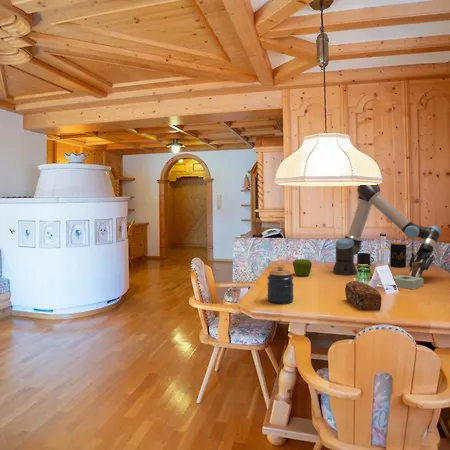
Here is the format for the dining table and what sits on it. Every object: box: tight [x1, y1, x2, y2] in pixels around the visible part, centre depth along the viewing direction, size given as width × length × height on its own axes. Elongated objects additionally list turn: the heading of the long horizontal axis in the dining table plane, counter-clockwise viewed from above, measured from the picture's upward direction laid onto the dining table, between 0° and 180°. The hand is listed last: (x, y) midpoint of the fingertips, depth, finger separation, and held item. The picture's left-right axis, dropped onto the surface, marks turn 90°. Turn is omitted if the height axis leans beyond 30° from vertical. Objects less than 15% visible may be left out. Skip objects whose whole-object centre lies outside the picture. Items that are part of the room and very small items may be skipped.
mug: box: [356, 252, 375, 266], centre depth 273 cm, size 9×12×9 cm
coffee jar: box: [389, 241, 407, 269], centre depth 267 cm, size 11×11×18 cm
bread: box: [344, 280, 382, 311], centre depth 170 cm, size 19×11×10 cm, turn 1°
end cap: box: [393, 274, 425, 290], centre depth 207 cm, size 14×13×4 cm
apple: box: [292, 258, 313, 277], centre depth 240 cm, size 12×12×11 cm
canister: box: [266, 265, 294, 305], centre depth 178 cm, size 13×13×18 cm
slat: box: [412, 261, 423, 278], centre depth 214 cm, size 3×6×12 cm, turn 126°
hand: (413, 277), depth 212 cm, fingers closed on slat, 3 cm apart
